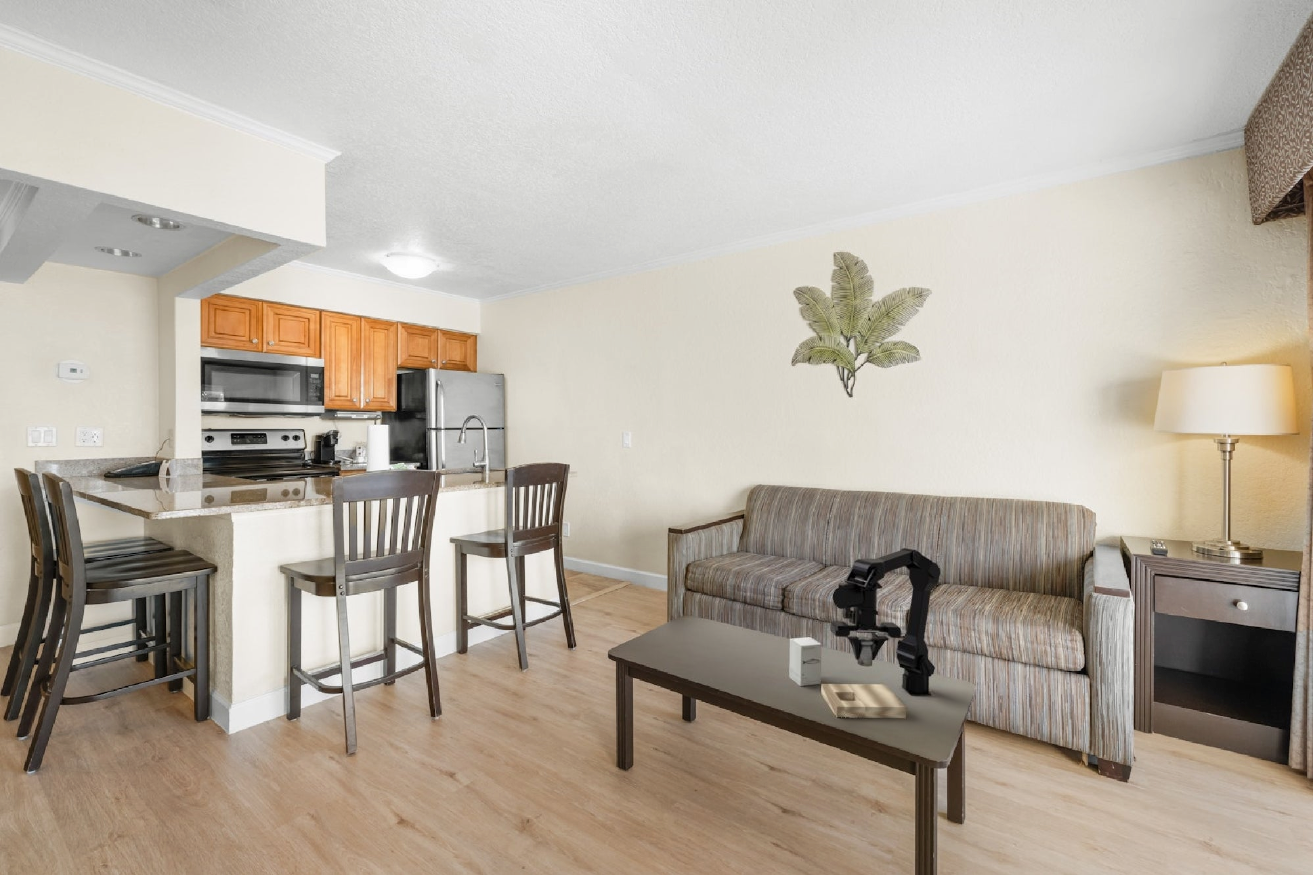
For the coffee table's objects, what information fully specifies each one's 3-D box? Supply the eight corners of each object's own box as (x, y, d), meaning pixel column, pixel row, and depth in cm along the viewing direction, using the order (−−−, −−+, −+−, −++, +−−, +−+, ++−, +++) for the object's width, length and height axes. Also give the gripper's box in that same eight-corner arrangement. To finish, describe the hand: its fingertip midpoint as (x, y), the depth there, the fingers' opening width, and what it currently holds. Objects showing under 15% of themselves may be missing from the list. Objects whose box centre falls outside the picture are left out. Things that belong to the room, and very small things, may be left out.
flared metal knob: (870, 660, 172) (871, 636, 172) (877, 667, 167) (877, 642, 167) (852, 660, 172) (853, 636, 172) (858, 667, 167) (859, 642, 167)
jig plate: (884, 694, 178) (884, 684, 178) (906, 718, 163) (906, 707, 163) (821, 693, 178) (821, 683, 178) (836, 717, 163) (836, 706, 163)
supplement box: (800, 686, 183) (800, 645, 183) (788, 677, 190) (789, 637, 190) (821, 684, 185) (822, 643, 185) (809, 675, 192) (809, 636, 192)
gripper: (887, 598, 178) (886, 650, 178) (825, 596, 178) (823, 649, 178) (903, 608, 167) (901, 664, 167) (836, 607, 167) (835, 662, 167)
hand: (864, 659), depth 170 cm, fingers closed on flared metal knob, 4 cm apart
